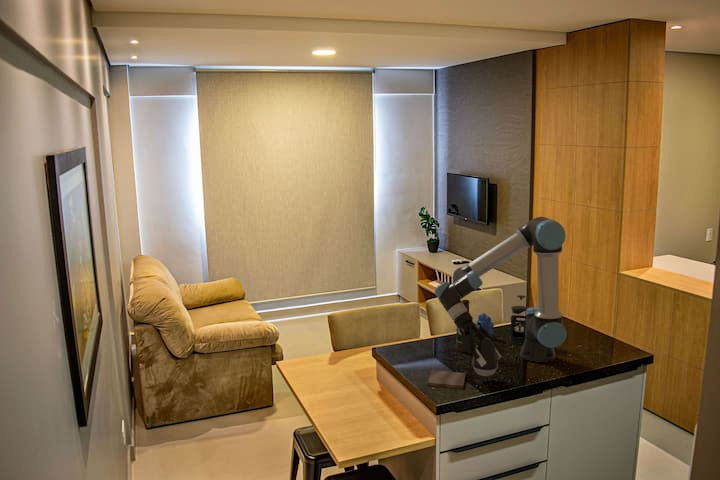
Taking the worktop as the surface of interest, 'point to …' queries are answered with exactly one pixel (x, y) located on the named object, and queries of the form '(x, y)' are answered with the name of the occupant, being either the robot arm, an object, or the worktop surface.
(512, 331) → the french press
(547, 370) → the worktop surface
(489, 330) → the grapes
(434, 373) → the walnut board
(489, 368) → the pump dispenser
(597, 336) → the worktop surface
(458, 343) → the beer bottle
